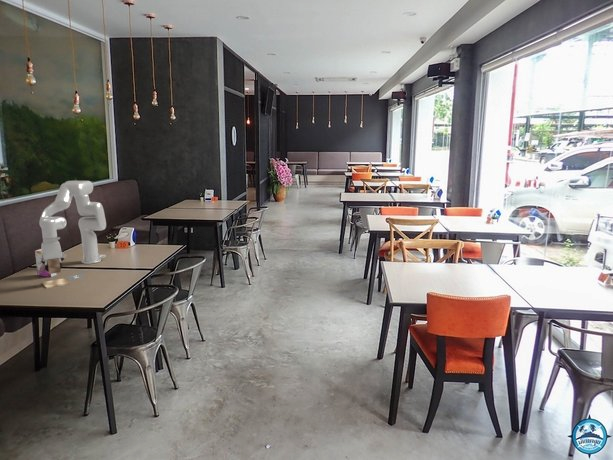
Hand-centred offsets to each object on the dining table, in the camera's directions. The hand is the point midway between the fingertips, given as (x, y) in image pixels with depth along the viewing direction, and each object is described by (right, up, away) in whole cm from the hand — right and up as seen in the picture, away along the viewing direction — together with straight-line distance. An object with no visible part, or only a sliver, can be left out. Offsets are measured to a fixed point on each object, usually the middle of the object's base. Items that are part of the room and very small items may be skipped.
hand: (53, 269), depth 281 cm
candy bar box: (-14, -6, +19) cm, 24 cm away
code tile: (+6, -6, +15) cm, 17 cm away
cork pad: (0, -9, +2) cm, 9 cm away
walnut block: (0, -1, 0) cm, 1 cm away
